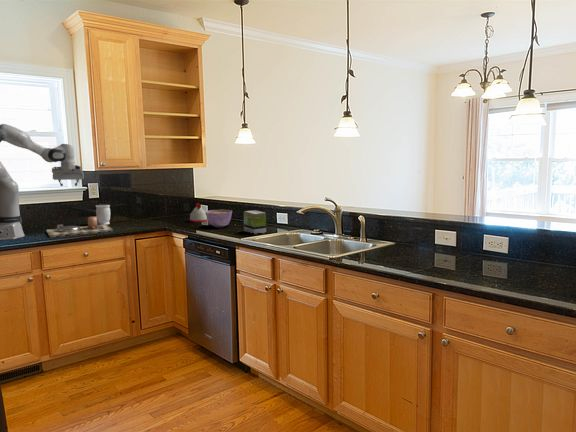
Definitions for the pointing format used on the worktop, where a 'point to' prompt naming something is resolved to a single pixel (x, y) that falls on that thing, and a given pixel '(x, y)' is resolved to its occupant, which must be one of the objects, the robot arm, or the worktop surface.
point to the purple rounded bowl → (218, 217)
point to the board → (80, 231)
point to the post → (67, 228)
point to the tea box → (254, 221)
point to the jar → (103, 214)
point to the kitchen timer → (198, 214)
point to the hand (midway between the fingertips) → (68, 185)
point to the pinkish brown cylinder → (92, 222)
